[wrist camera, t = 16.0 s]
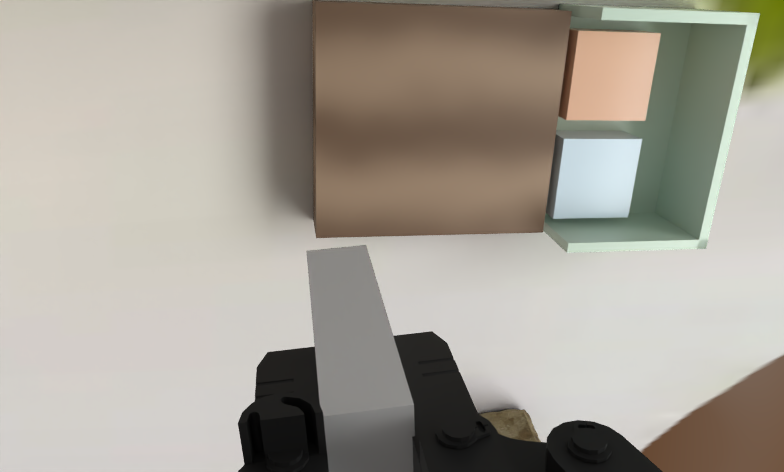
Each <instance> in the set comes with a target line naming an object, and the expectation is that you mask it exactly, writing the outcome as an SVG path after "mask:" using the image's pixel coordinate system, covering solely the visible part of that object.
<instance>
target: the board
mask: <svg viewBox="0 0 784 472" xmlns="http://www.w3.org/2000/svg"><path fill="white" fill-rule="evenodd" d="M312 14H313V206H314V226H315V233H316V238H330V237H372V236H413V235H455V234H497V233H538V232H543V228H544V221H545V213H546V205H547V198H548V190H549V183H550V175H551V167H552V160H553V152H554V144H555V137H556V129H557V121H558V114H559V106H560V98H561V91H562V83H563V75H564V68H565V60H566V53H567V45H568V37H569V30H570V22H571V14H572V11H566V10H557V9H541V8H513V7H486V6H458V5H431V4H403V3H376V2H348V1H321V0H312Z"/></svg>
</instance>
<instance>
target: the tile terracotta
mask: <svg viewBox="0 0 784 472" xmlns="http://www.w3.org/2000/svg"><path fill="white" fill-rule="evenodd" d="M660 37H661V33H655V32H648V31H641V30H616V29H586V28H570V30H569V37H568V45H567V53H566V60H565V68H564V75H563V83H562V91H561V98H560V106H559V114H558V116H559V117H561V118H563V119H565V120H602V121H645V120H646V114H647V109H648V103H649V97H650V92H651V86H652V81H653V75H654V70H655V64H656V59H657V53H658V48H659V42H660Z"/></svg>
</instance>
